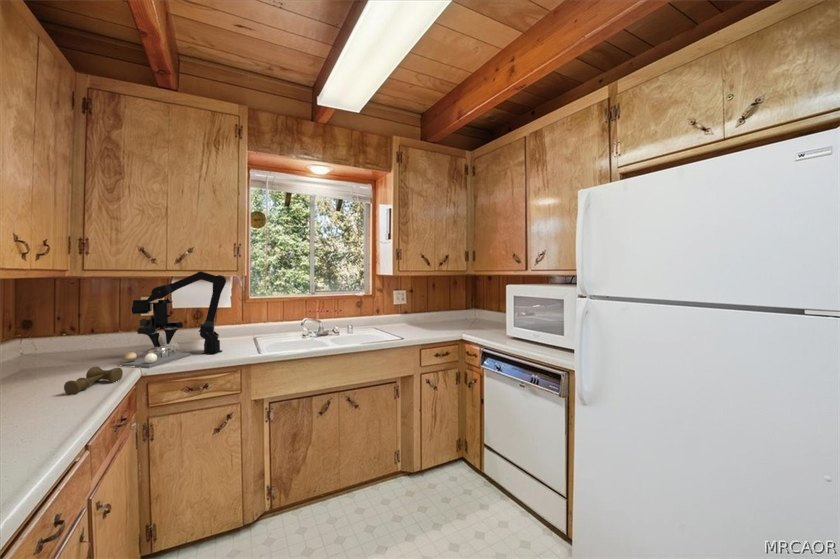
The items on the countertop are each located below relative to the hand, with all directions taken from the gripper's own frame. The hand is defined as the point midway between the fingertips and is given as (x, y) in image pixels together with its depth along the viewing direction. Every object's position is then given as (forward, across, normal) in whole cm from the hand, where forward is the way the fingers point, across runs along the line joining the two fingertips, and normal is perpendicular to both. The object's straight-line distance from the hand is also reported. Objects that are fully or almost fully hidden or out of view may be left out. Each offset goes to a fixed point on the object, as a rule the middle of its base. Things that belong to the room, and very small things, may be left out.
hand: (161, 345), depth 166 cm
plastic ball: (+3, +12, +8) cm, 14 cm away
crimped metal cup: (+5, 0, 0) cm, 5 cm away
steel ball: (+3, 0, 0) cm, 3 cm away
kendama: (+6, +36, +11) cm, 38 cm away
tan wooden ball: (+3, +12, -4) cm, 13 cm away
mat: (+6, +4, +2) cm, 8 cm away
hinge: (+6, -13, -12) cm, 19 cm away
